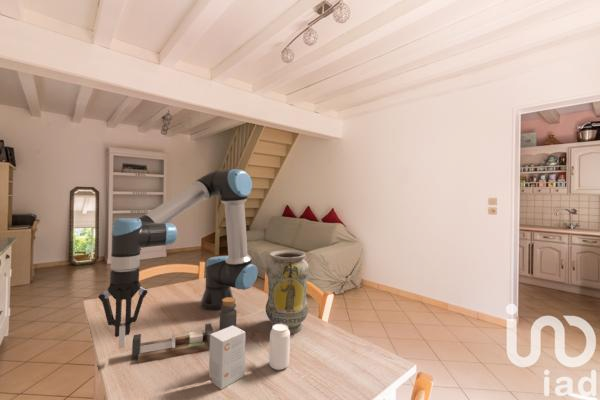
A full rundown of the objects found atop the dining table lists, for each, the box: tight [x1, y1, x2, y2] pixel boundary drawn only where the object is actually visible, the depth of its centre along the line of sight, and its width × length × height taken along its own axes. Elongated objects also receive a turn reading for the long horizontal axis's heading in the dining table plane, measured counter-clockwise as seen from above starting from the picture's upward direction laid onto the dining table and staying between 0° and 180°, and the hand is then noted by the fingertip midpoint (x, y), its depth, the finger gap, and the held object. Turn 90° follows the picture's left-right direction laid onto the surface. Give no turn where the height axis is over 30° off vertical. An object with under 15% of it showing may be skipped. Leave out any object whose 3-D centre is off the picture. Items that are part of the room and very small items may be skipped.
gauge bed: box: [137, 323, 215, 365], centre depth 92 cm, size 22×9×6 cm, turn 115°
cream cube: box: [188, 330, 203, 344], centre depth 94 cm, size 4×4×4 cm
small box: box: [208, 325, 246, 390], centre depth 79 cm, size 8×6×13 cm
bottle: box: [218, 297, 238, 331], centre depth 100 cm, size 6×6×15 cm
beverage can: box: [268, 324, 291, 371], centre depth 86 cm, size 6×6×12 cm
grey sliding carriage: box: [131, 333, 176, 360], centre depth 88 cm, size 12×7×6 cm, turn 115°
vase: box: [265, 249, 310, 335], centre depth 113 cm, size 18×18×30 cm
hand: (122, 345), depth 85 cm, fingers closed
